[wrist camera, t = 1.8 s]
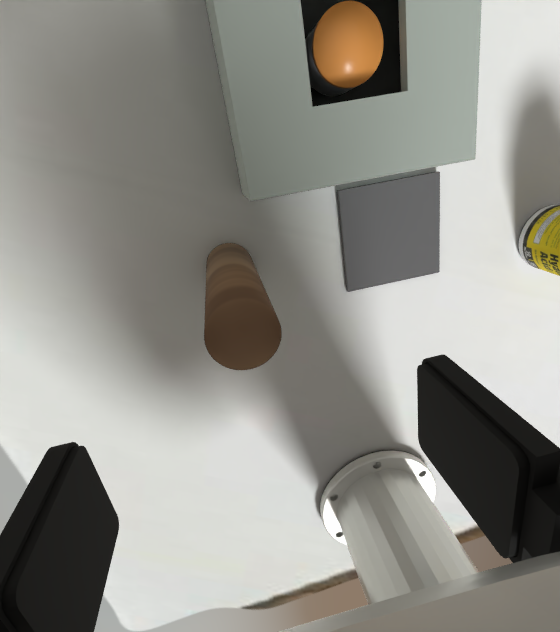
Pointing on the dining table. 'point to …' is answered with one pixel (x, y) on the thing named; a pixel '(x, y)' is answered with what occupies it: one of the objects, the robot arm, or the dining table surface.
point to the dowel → (238, 311)
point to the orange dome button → (343, 48)
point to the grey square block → (349, 116)
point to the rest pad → (390, 230)
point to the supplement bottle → (542, 240)
